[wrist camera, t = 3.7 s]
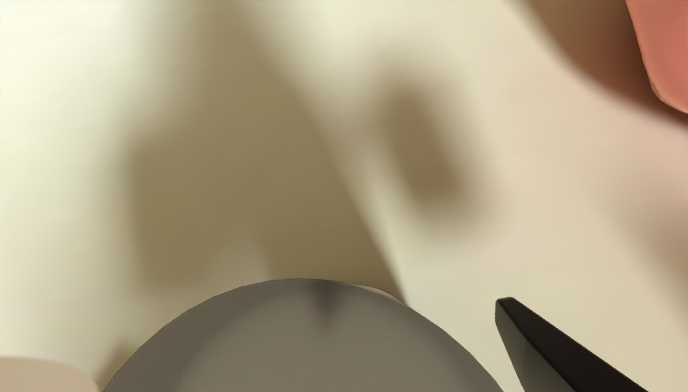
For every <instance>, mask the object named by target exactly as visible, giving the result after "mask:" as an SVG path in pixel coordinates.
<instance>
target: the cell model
mask: <svg viewBox="0 0 688 392" xmlns="http://www.w3.org/2000/svg"><path fill="white" fill-rule="evenodd" d="M625 1H626V4H627V7H628V10H629V13H630V16H631V19H632V22H633V25H634V29H635V33H636V37H637V40H638V44H639V48H640V52H641V55H642V59H643V62H644V65H645V68H646V71H647V75H648V78H649V82H650V85H651V88H652V90H653V92H654V93H655V94H656V96H657V97H658V98H659V100H661V101H662V102H664V103H665V104H667V105H669V106H670V107H672V108H674V109H676V110H678V111H681V112H683V113H686V114H688V0H625Z"/></svg>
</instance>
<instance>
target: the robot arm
mask: <svg viewBox="0 0 688 392" xmlns="http://www.w3.org/2000/svg"><path fill="white" fill-rule="evenodd" d="M495 322H496V326H497V329H498V331H499V333H500V336H501V338H502V341H503V343H504V345H505V348H506V350H507V352H508V355H509V357H510V359H511V362H512V364H513V367H514V369H515V371H516V374H517V376H518V378H519V380H520V383H521V385H522V387H523V389H524V391H525V392H648V391H647V390H645V389H644V388H642V387H641V386H639V385H638V384H637V383H635V382H634V381H632V380H631V379H629V378H628V377H626V376H625V375H624V374H622V373H621V372H619V371H618V370H616V369H615V368H614V367H612V366H611V365H609V364H608V363H606V362H605V361H604V360H602V359H601V358H599V357H598V356H596V355H595V354H593V353H592V352H591V351H589V350H588V349H586V348H585V347H583V346H582V345H581V344H579V343H578V342H576V341H575V340H573V339H572V338H571V337H569V336H568V335H566V334H565V333H563V332H562V331H560V330H559V329H558V328H556V327H555V326H553V325H552V324H550V323H549V322H548V321H546V320H545V319H543V318H542V317H540V316H539V315H538V314H536V313H535V312H533V311H532V310H530V309H529V308H527V307H526V306H525V305H523V304H522V303H520V302H519V301H517V300H516V299H515V298H512V297H506V298H500V299H497V300H496V306H495Z"/></svg>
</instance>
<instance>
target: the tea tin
mask: <svg viewBox="0 0 688 392" xmlns="http://www.w3.org/2000/svg"><path fill="white" fill-rule="evenodd" d="M103 392H503V390H502V389H501V388H500V386H499V385H498V384H497V382H496V381H495V380H494V379H493V377H492V376H491V375H490V374H489V373H488V372H487V371H486V370H485V369H484V368H483V367H482V366H481V364H480V363H479V362H478V361H477V360H476V359H475V358H474V357H473V356H472V355H471V354H470V352H468V351H467V350H466V349H465V348H464V347H463V346H461V345H460V344H459V343H458V342H457V341H456V340H454V339H453V338H452V337H451V336H450V335H449V334H447V333H446V332H445V331H444V330H443V329H441V328H440V327H438V326H437V325H435V324H434V323H432V322H431V321H429V320H428V319H426V318H425V317H424V316H422V315H421V314H419V313H418V312H416V311H415V310H413V309H411V308H410V307H408V306H407V305H405V304H404V303H402V302H401V301H399V300H397V299H396V298H394V297H393V296H391V295H390V294H388V293H386V292H384V291H382V290H379V289H376V288H373V287H368V286H362V285H355V284H349V283H342V282H336V281H330V280H317V279H300V278H297V279H284V280H271V281H266V282H261V283H256V284H252V285H247V286H242V287H239V288H237V289H234V290H231V291H228V292H226V293H223V294H220V295H217V296H214V297H213V298H211V299H209V300H207V301H205V302H203V303H201V304H199V305H197V306H195V307H193V308H191V309H189V310H188V311H186V312H185V313H183V314H182V315H180V316H179V317H177V318H176V319H174V320H173V321H171V322H170V323H169V324H167V325H166V326H164V327H163V328H162V329H161V330H159V331H158V332H157V333H156V334H155V335H154V336H153V337H151V338H150V339H149V340H148V341H147V342H146V343H145V344H143V345H142V346H141V347H140V348H139V349H138V350H137V351H136V352H135V353H134V354H133V356H132V357H131V358H130V359H129V360H128V361H127V362H126V363H125V364H124V365H123V367H122V368H121V369H120V370H119V371H118V372H117V373H116V375H115V376H114V377H113V379H112V380H111V382H110V383H109V384H108V386H107V387H106V388H105V390H104V391H103Z"/></svg>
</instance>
